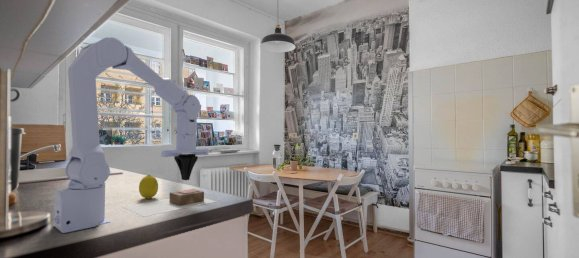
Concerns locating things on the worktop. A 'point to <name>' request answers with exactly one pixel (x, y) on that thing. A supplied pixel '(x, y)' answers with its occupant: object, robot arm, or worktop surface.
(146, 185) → the lemon
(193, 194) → the brown wooden block
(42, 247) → the worktop surface
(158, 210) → the mat
